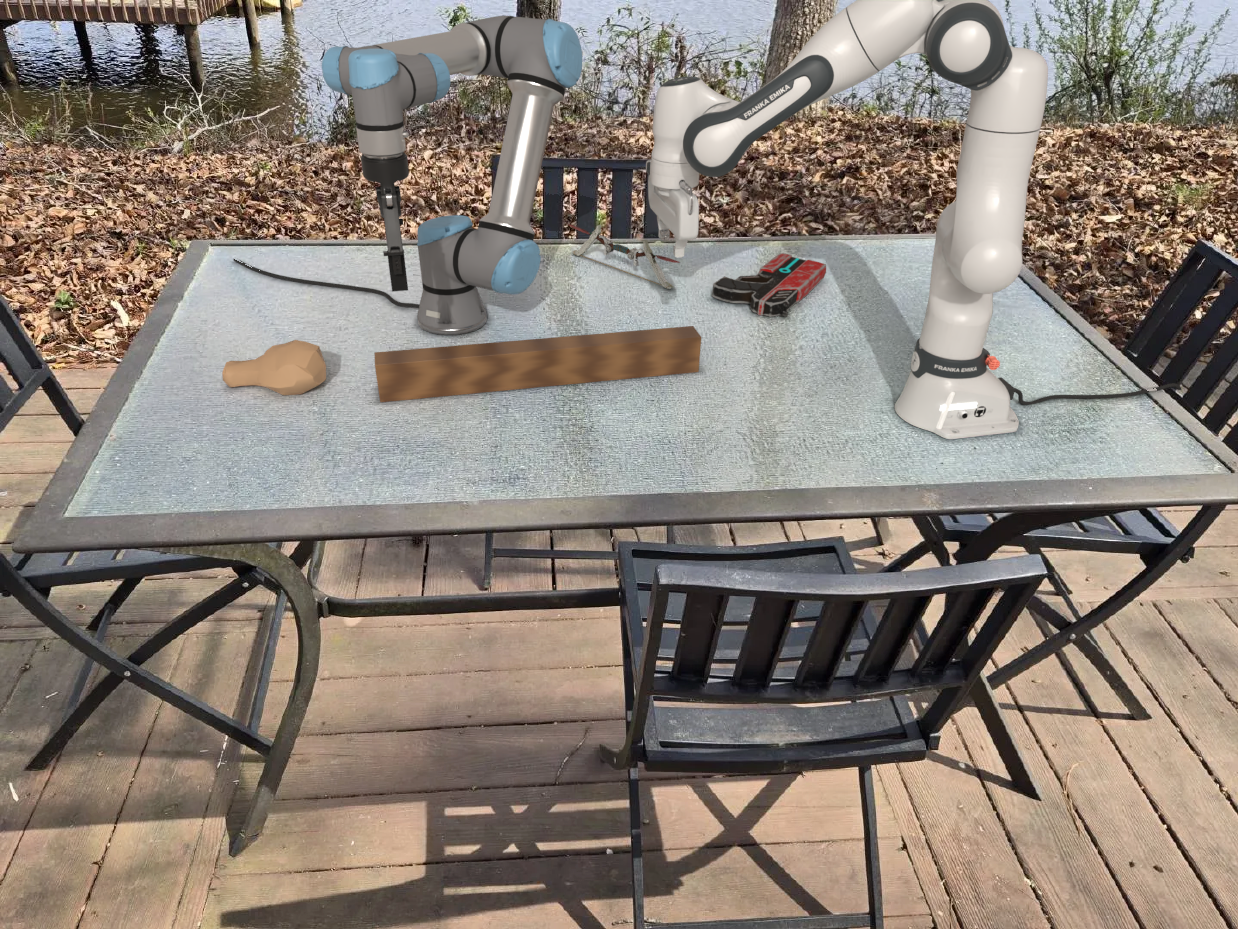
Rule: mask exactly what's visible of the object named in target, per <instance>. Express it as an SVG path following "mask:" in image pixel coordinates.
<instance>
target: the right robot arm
mask: <svg viewBox="0 0 1238 929" xmlns="http://www.w3.org/2000/svg"><path fill="white" fill-rule="evenodd" d="M913 54H921V55H925V56H926V57H927V61H928V63H929V65H930V67H931V68H932V70H933V71H934V73H936V75H937V76H939V77H940V78H942V79H944V80H946V81H948V82H950V83H953V84H956V85H958V86H962V87H964V88H966V89H969V90H970V103H969V108H968V113H967V118H966V123H965V127H964V133H963V138H962V142H961V148H960V153H959V158H958V163H957V168H956V194H955V195H956V196H955V200H954V201H953V202H951V203H949V204H948V205H947V206H946V207H944V208H943V210H942V211H941V213H940V214H939V216H938V218H937V222H936V229H935V241H934V247H933V255H932V263H931V271H930V282H929V293H928V299H927V306H926V310H925V313H924V318H923V321H922V322H923V323H922V327H921V331H920V335H919V338H918V339H917V340H916V342H915V345H914V350H913V353H912V356H911V362H910V371H909V375H908V377H907V380H906V382H905V384H904V387H903V389H902V391H901V393H900V395H899V397H898V398H897V400H896V402H895V403H894V411H895V413H896V415H898V417H900V419H902V420H903V421H905V422H906V423H908V424H909V425H911V426H913V427H916V428H919V429H921V430H924V431H929V432H931V433H934V434H936V435H937V436H939V437H941V438H943V439H946V440H956V439H957V440H958V439H967V438H974V437H982V436H983V437H984V436H992V435H1001V434H1002V435H1003V434H1009V433H1016V432H1018V430H1019V425H1020V421H1019V419H1018V415H1017V413H1016V412H1015V411H1014V409H1013V408H1012V407H1011V401H1013V400H1014V396H1015V394H1016V395H1017V396H1018V403H1019V404H1020V405H1022V406H1030V405H1031V406H1032V405H1036V404H1041V403H1043V402H1046V401H1050V400H1063V399H1064V400H1101V399H1103V400H1104V399H1120V398H1129V397H1134V396H1139V395H1144V394H1149V393H1150V392H1149V391H1147V390H1146V388H1145V389H1140V390H1137V391H1131V392H1124V393H1123V392H1121V393H1110V394H1109V393H1108V394H1051V395H1046V396H1043V397H1041V398H1038V399H1035V400H1031V401H1026V400H1024V395H1023V392H1022V391H1021V390H1020V389H1019V388H1016V387H1014V386H1013V385H1012V384H1010V382H1008V381H1007V380H1006V379H1005V378H1003V377H998V376H996V375H995V374H994V373H993V372H992V371H995V370H998V369H999V368H1000V366H1001V361H999V359H998V358H997V357H996V356H994V355H991V353H990V352H989V351H988V350H987V349H986V348H985V347H984V346H985V342H986V338H987V335H988V332H989V328H990V324H991V321H992V318H993V313H994V294H995V293H998V292H1000V291H1003V290H1005V289H1006V288H1009V286H1010V285H1012V284H1013V283H1014V282H1015V281H1016V279H1018V276H1019V275H1020V273H1021V270H1022V267H1023V238H1024V231H1025V230H1024V229H1025V220H1026V210H1027V197H1028V196H1027V195H1028V187H1029V180H1030V175H1031V170H1032V165H1033V161H1034V158H1035V157H1034V156H1035V153H1036V149H1037V144H1038V139H1039V136H1040V133H1041V127H1042V123H1043V118H1044V114H1045V110H1046V103H1047V94H1048V82H1049V81H1048V80H1049V79H1048V78H1049V67H1048V66H1049V65H1048V63H1047V61H1046V59H1045V57H1044V56H1043V55H1042V54H1041V53H1039V52H1037V51H1035V50H1033V49H1030V48H1028V47H1027V48H1026V47H1015V46H1012V45H1010V42H1009V40H1008V36H1007V33H1006V28H1005V25H1004V22H1003V17H1002V15H1001V13H1000V11H999V10H998V8H997V7H996V6H995V5H994V4H993V3H992V2H991V1H989V0H855V1H853V2H852V3H850V4H849V5H847V6H846V7H844V8H843V9H841V10H840V11H839V12H838V13H836V14H835V15H834V16H832V17H831V18H830V19H829V20H827V22H826V23H824V24H823V25H822V26H821V27H820V28H819V29H818V30H817V31H816V32H815V33H814V34H813V35H812V36H811V37H810V38H809V40H808V41H807V42H806V43H805V45H803V47H802V48H801V50H800V51H799V52H798V53H797V55H796V56H795V57H794V58H793V60H792V61H791V62H790V63H789V64H788V65H787V66H786V67H785V68H784V69H783V70H782V71H781V72H780V73H779V74H778V75H777V76H776V77H775V78H773V79H772V80H770V81H769V82H768V83H766V84H765V85H764V86H762V87H760V88H759V89H758V90H756V91H755V92H753V93H752V94H750V95H748V97H747V98H745V99H743V100H742V101H739V100H735V99H732V98H730V97H728V96H725V95H723V94H721V93H719V92H717V91H715V90H714V89H713V88H712V87H710V86H709V85H707V84H706V83H705V81H704V80H703V79H702V78H701V77H699V76H690V75H688V76H681V77H680V76H679V77H674V78H671V79H669V80H667V81H665V82H663V83H662V84H661V85H660V86H659V87H658V88H657V91H656V94H655V99H654V105H653V106H654V107H653V114H652V115H653V116H652V135H653V148H652V151H651V158H650V159H649V160H646V161H645V172H646V173H647V175H648V177H647V193H648V198H647V199H648V204H649V208H650V209H651V210H652V212H653V213H654V214H655V215H656V221H657V227H658V228H657V229H658V238H659V240H660V241H668V240H670V233H672V234H673V235H674V240H675V241H674V245H673V247H672V254H673V257H675V258H676V259H679V258H683V257H685V252H686V246H687V245H688V242H689V241H692V240H697V238H698V236H699V225H700V204H699V199H698V196H697V195H696V194H695V193H694V192H693V189H694V188H696V187H698V186H699V183H700V175H702V176H704V177H708V178H720V177H723V176H725V175H727V174H729V173H730V172H732V171H733V170H734V168H735V167H736V166H737V165H738V164H739V162H740V160H741V159H742V158H743V156H744V155H745V154H746V152H747V151H748V150H749V149H750V147H751V146H752V145H753V144H754V143H755V142H756V141H758V140H759V139H760V138H761V137H763V136H764V135H766V134H767V133H769V132H770V131H772V130H773V129H775V128H776V127H778V126H779V125H781V124H782V123H784V122H785V121H787V120H788V119H789V118H791V117H793V116H794V115H795V114H797V113H798V112H800V111H802V110H804V109H806V108H808V107H809V106H812V105H814V104H816V103H819V102H821V101H823V100H825V99H827V98H830V97H832V96H834V95H836V94H839V93H842V92H844V91H847V90H848V89H850V88H853V87H855V86H857V85H858V84H861V83H862V82H864V81H866V80H867V79H870V78H872V77H873V76H874V75H877V74H878V73H879V72H882V70H884V69H885V68H887V67H889V66H890V65H891V64H892V63H894V62H896V61H897V60H899V59H901V58H904V57H906V56H909V55H913ZM1152 388H1153V389H1154V388H1156V389H1157V391H1156V392H1159V391H1162V390H1163V391H1164V390H1166V389H1170V388H1175V389H1176V390H1177V391H1182V387H1181V386H1180V384H1178V383H1175V382H1172V383H1167V384H1163V385H1160V386H1155V387H1152Z"/></svg>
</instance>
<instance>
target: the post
mask: <svg viewBox="0 0 1238 929" xmlns="http://www.w3.org/2000/svg"><path fill="white" fill-rule="evenodd" d="M701 346H702V336H701V334H700V333H699V331H698V330H697V329H696V328H695V327H694V325H689V326H688V325H687V326H676V327H664V328H663V327H662V328H652V329H650V328H649V329H639V330H626V331H616V332H615V331H614V332H602V333H592V334H581V335H570V336H569V335H567V336H555V337H544V338H531V339H519V340H508V341H495V342H484V343H471V344H459V345H447V346H436V347H435V346H434V347H423V348H422V347H421V348H410V349H400V350H388V351H376V352H374V354H373V356H374V369H375V376H376V384H377V389H378V397H379V403H389V402H399V401H408V400H420V399H430V398H431V399H432V398H440V397H441V398H442V397H451V396H452V397H453V396H461V395H472V394H484V393H493V392H504V391H514V390H524V389H526V390H527V389H534V388H544V387H545V388H547V387H555V386H556V387H557V386H566V385H568V386H569V385H576V384H588V383H589V384H590V383H599V382H607V381H618V380H619V381H620V380H631V379H641V378H650V377H652V378H653V377H660V376H672V375H683V374H693V373H699V371H700V359H701V348H702V347H701Z"/></svg>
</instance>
